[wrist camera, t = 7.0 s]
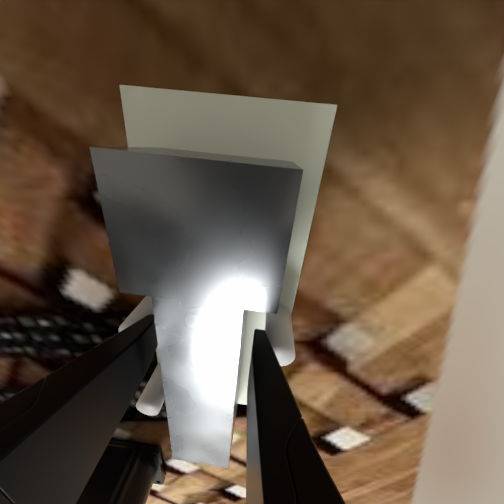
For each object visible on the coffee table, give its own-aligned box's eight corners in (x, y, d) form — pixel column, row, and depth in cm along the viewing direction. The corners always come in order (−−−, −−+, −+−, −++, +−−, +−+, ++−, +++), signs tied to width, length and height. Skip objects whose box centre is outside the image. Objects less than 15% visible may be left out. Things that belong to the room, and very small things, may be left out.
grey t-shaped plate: (253, 403, 14) (248, 471, 11) (178, 391, 14) (153, 455, 11) (292, 161, 8) (303, 169, 5) (157, 147, 8) (89, 146, 5)
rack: (271, 385, 15) (270, 454, 12) (171, 370, 15) (142, 433, 12) (326, 112, 8) (364, 85, 5) (144, 95, 8) (55, 58, 5)
